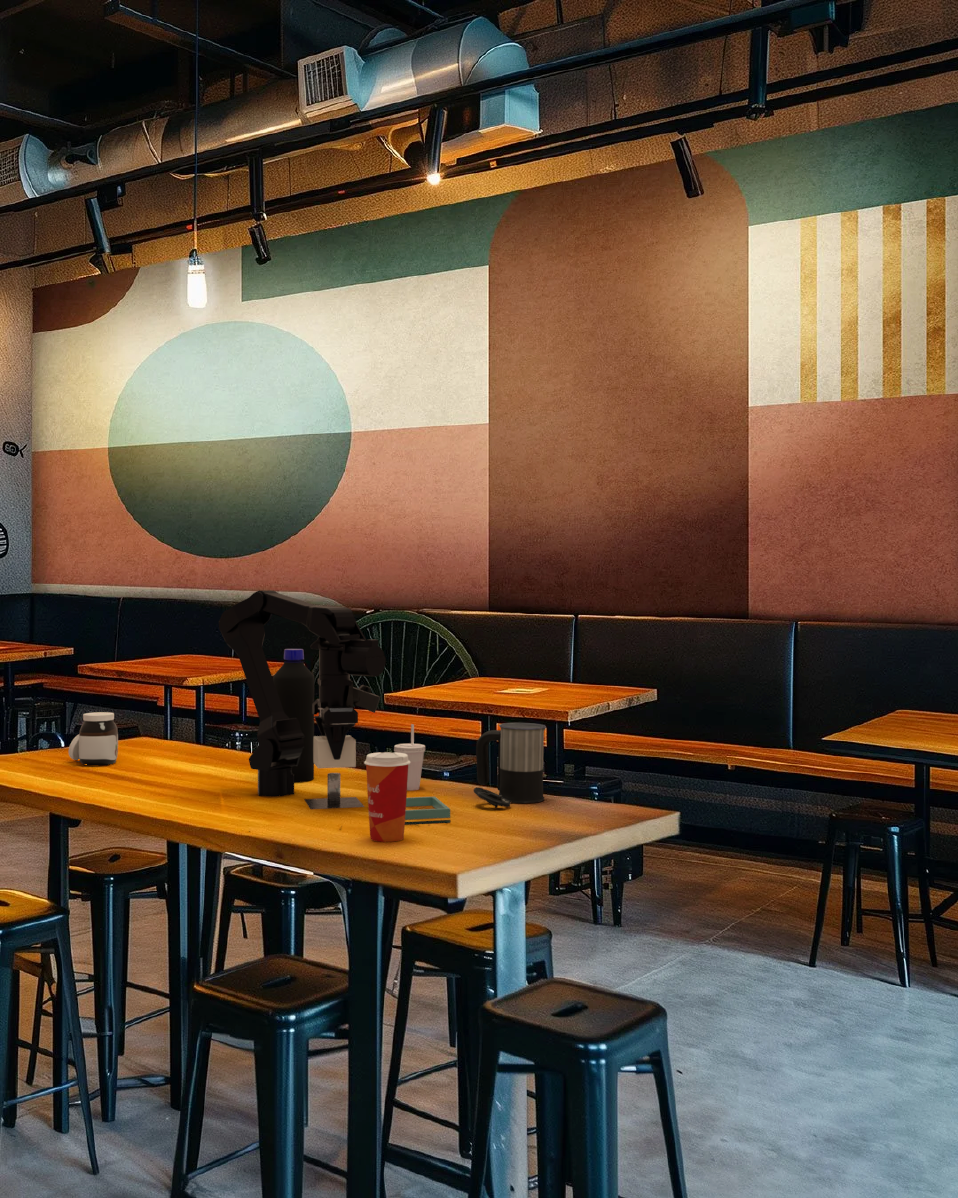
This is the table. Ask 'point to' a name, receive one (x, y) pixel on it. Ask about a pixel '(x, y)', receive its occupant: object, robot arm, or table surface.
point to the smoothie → (412, 760)
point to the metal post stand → (333, 796)
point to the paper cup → (387, 795)
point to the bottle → (298, 706)
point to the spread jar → (96, 740)
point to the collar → (324, 754)
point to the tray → (426, 810)
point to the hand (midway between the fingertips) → (334, 756)
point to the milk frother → (513, 764)
